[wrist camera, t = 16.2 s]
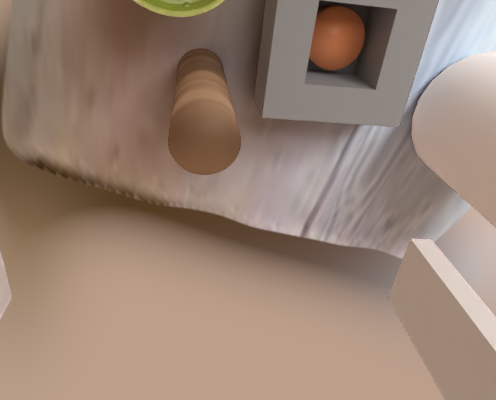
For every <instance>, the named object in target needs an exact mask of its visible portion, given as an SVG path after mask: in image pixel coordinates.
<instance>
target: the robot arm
mask: <svg viewBox="0 0 496 400" xmlns="http://www.w3.org/2000/svg"><path fill="white" fill-rule="evenodd" d="M11 298H12V295H11V291H10V288H9V283H8V279H7V275H6V271H5V267H4V263H3V259H2V255H1V251H0V319H1V317H2V315H3V313H4V311H5V309H6V307H7V305H8V304H9V302H10V300H11ZM388 299H389V301H390V303H391V305H392V306H393V308H394V310H395V312H396V314H397V315H398V317H399V319H400V321H401V322H402V324H403V326H404V328H405V330H406V331H407V333H408V335H409V337H410V339H411V341H412V342H413V344H414V346H415V348H416V349H417V351H418V353H419V355H420V357H421V358H422V360H423V362H424V364H425V366H426V367H427V369H428V371H429V373H430V375H431V376H432V378H433V380H434V382H435V383H436V385H437V387H438V389H439V391H440V392H441V394H442V396H443V398H444V399H445V400H496V317H495V316H494V315H493V313H492V312H491V311H490V310H489V308H488V307H487V306H486V305H485V304H484V302H483V301H482V300H481V299H480V298H479V296H478V295H477V294H476V293H475V292H474V291H473V289H472V288H471V287H470V286H469V284H468V283H467V282H466V281H465V279H464V278H463V277H462V276H461V275H460V274H459V272H458V271H457V270H456V269H455V267H454V266H453V265H452V264H451V263H450V261H449V260H448V259H447V258H446V256H445V255H444V254H443V253H442V252H441V250H440V249H439V248H438V247H437V246H436V244H435V243H434V242H433V241H432V239H410V242H409V244H408V247H407V250H406V252H405V255H404V257H403V260H402V263H401V265H400V268H399V270H398V273H397V275H396V278H395V281H394V283H393V286H392V288H391V291H390V294H389V296H388Z"/></svg>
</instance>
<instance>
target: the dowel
mask: <svg viewBox="0 0 496 400" xmlns="http://www.w3.org/2000/svg"><path fill="white" fill-rule="evenodd" d="M168 146H169V150H170V153H171V155H172V157H173V158H174V160H175V161H176V162H177V163H178V164H179V165H180V166H181V167H182V168H184V169H185V170H187V171H189V172H192V173H195V174H201V175H209V174H214V173H218V172H220V171H222V170H224V169H226V168H227V167H228V166H230V165H231V164H232V163H233V162H234V160H235V159H236V157H237V155H238V153H239V150H240V146H241V137H240V132H239V128H238V125H237V121H236V117H235V113H234V109H233V105H232V101H231V97H230V93H229V89H228V85H227V81H226V77H225V73H224V69H223V65H222V63H221V61H220V59H219V57H218V56H217V55H216V54H215V53H213V52H212V51H210V50H207V49H203V48H198V49H193V50H191V51H189V52H187V53H186V54H185V55H184V56H183V57H182V59H181V61H180V63H179V67H178V74H177V81H176V87H175V94H174V101H173V108H172V115H171V122H170V129H169V136H168Z"/></svg>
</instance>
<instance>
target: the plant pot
mask: <svg viewBox="0 0 496 400" xmlns="http://www.w3.org/2000/svg"><path fill="white" fill-rule="evenodd" d="M133 1H134V2H136V3H137V4H139V5H140V6H142V7H144V8H146V9H148V10H150V11H152V12H155V13H157V14H161V15H165V16H171V17H190V16H196V15H200V14H203V13H205V12H208V11H210V10H212V9H214V8H215V7H217V6H219V5H220V4H221V3H223V2H224V1H225V0H133Z"/></svg>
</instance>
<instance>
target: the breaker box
mask: <svg viewBox="0 0 496 400" xmlns="http://www.w3.org/2000/svg"><path fill="white" fill-rule="evenodd" d="M438 2H439V0H265V8H264V16H263V24H262V33H261V41H260V50H259V58H258V67H257V75H256V83H255V92H254V99H255V102H256V104H257V107H258V109H259V111H260V114H261V116H262V118H272V119H286V120H301V121H315V122H330V123H344V124H359V125H373V126H387V127H399V126H400V123H401V120H402V117H403V113H404V110H405V107H406V104H407V101H408V97H409V94H410V91H411V88H412V85H413V81H414V78H415V75H416V72H417V69H418V66H419V62H420V59H421V56H422V53H423V50H424V46H425V43H426V40H427V37H428V34H429V30H430V27H431V24H432V21H433V18H434V15H435V11H436V8H437V5H438ZM331 4H334V5H340V6H343V7H346V8H349V9H351V10H353V11H354V12H355V13H357V14H358V16H359V17H360V18H361V20H362V22H363V25H364V29H365V40H364V44H363V47H362V49H361V51H360V53H359V55H358V56H357V58H356V59H355V60H354V61H353V62H352V63H350V64H349V65H348V66H346V67H344V68H341V69H338V70H326V69H323V68H321V67H319V66H317V65H316V64H315V63H314V62H313V61H312V60H311V59H309V55H310V49H311V44H312V38H313V33H314V27H315V21H316V16H317V10H318V9H319V8H321V7H323V6H326V5H331Z"/></svg>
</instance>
